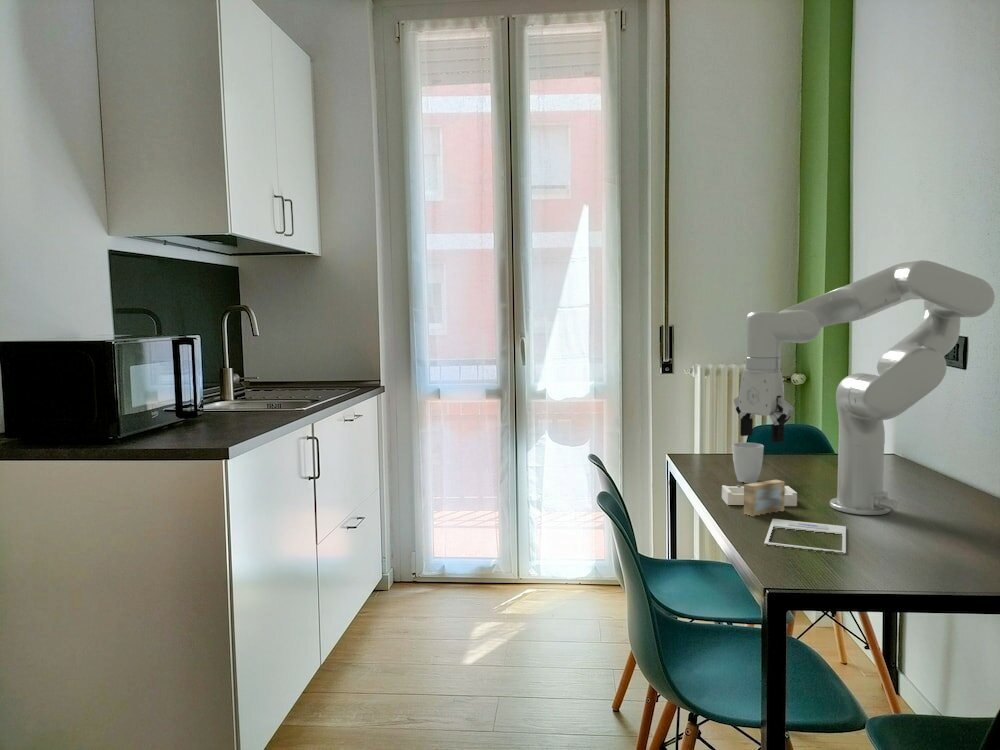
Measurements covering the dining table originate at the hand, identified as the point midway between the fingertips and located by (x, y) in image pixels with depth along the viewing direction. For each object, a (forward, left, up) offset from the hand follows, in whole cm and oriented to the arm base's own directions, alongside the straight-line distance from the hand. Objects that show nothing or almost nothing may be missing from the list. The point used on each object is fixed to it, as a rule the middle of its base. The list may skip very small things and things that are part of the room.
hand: (761, 438), depth 165 cm
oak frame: (-2, +1, -17) cm, 17 cm away
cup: (+21, -20, -17) cm, 34 cm away
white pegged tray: (+5, -5, -17) cm, 18 cm away
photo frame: (-19, +8, -18) cm, 27 cm away
